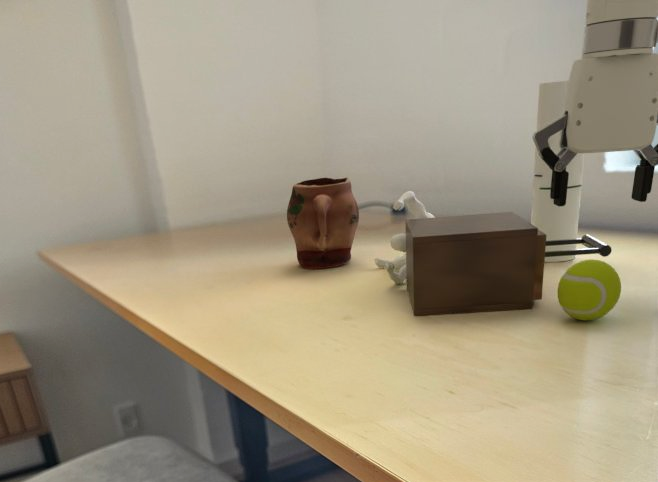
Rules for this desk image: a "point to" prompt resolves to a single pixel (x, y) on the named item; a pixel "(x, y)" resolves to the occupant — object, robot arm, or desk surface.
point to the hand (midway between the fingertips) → (598, 202)
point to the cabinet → (470, 263)
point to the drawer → (586, 240)
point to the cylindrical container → (544, 211)
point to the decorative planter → (323, 221)
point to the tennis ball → (589, 289)
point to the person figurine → (402, 238)
